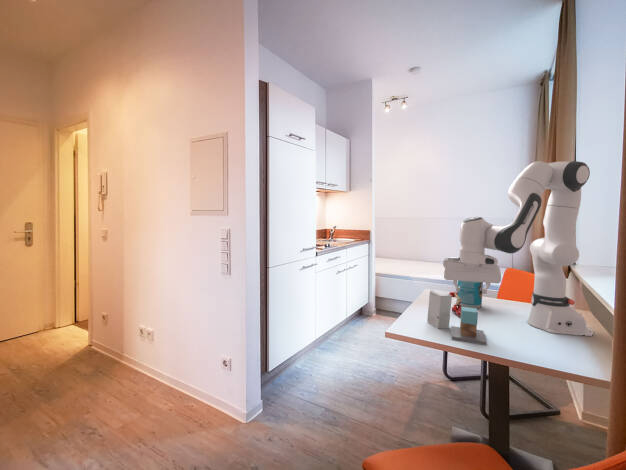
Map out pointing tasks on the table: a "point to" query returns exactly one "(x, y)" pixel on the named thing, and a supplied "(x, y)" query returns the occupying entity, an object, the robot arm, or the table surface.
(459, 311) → the toy fire truck
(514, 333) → the table surface
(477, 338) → the baseplate
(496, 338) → the table surface
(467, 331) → the walnut brick
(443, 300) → the skincare box
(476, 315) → the teal block
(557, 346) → the table surface
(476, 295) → the food can
